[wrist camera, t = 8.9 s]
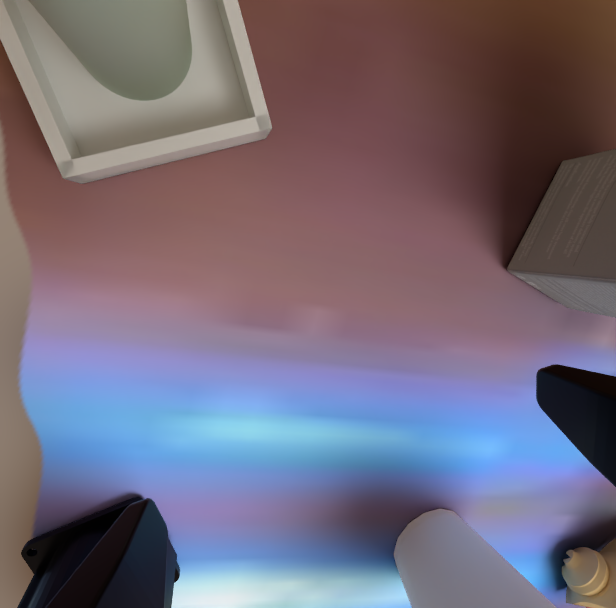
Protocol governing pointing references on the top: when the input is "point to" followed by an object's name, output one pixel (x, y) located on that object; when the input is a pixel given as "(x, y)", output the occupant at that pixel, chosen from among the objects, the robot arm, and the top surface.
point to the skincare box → (574, 237)
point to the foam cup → (458, 567)
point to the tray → (133, 113)
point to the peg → (126, 42)
